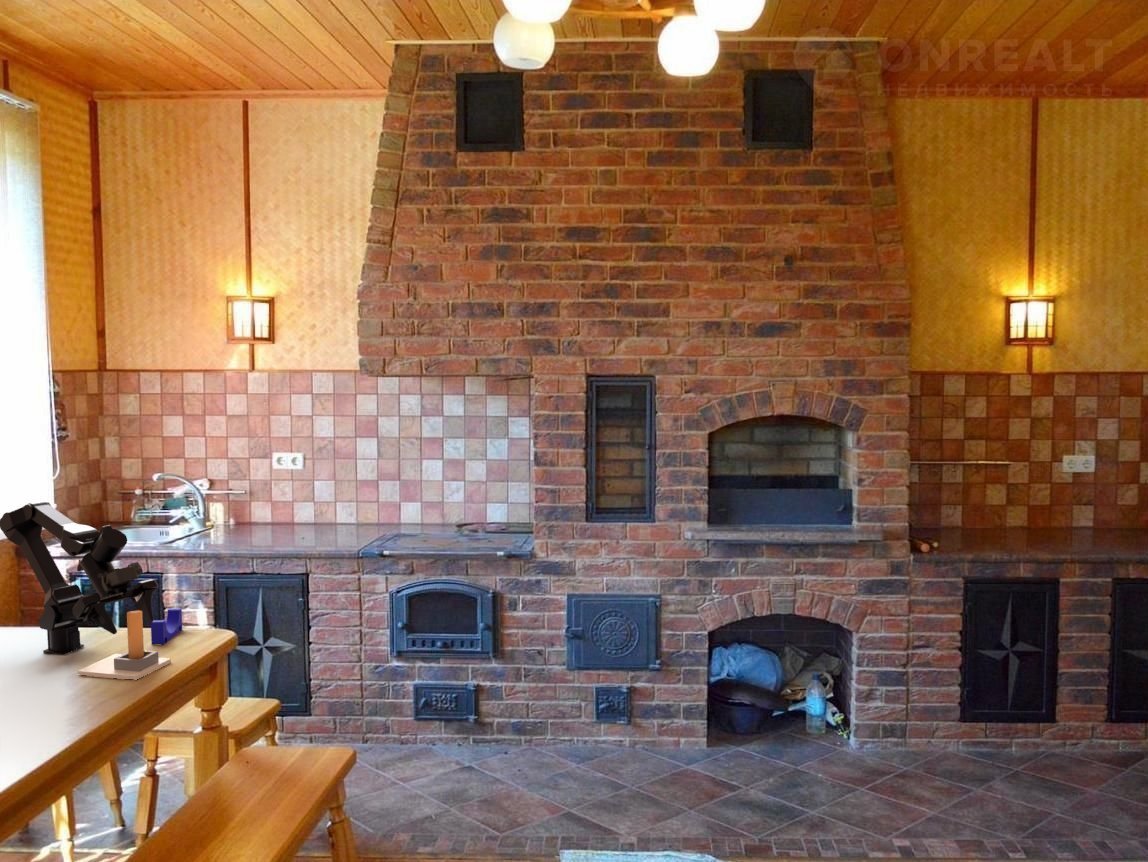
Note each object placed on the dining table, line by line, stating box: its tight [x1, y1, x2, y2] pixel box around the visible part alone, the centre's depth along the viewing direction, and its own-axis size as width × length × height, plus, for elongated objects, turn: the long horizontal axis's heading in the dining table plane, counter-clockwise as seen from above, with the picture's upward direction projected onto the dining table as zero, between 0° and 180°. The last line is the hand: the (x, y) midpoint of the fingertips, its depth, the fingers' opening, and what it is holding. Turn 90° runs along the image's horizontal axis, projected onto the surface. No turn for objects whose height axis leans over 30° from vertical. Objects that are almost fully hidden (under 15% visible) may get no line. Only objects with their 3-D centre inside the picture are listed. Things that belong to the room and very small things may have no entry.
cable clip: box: [150, 607, 183, 646], centre depth 237 cm, size 12×4×6 cm, turn 2°
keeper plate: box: [77, 649, 172, 681], centre depth 214 cm, size 15×12×4 cm
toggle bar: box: [126, 610, 145, 659], centre depth 213 cm, size 3×3×12 cm
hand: (134, 627), depth 212 cm, fingers open, 9 cm apart
